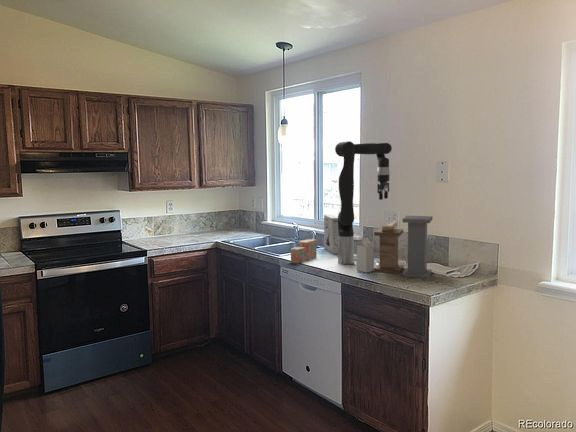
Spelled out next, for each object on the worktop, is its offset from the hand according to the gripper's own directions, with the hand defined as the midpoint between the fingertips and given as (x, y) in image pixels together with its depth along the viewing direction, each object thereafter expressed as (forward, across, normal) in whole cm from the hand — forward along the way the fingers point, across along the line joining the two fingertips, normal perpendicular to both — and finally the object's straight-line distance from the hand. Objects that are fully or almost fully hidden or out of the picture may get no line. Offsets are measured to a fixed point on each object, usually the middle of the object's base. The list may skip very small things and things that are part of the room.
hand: (383, 199), depth 302 cm
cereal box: (+38, +1, +38) cm, 54 cm away
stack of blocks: (+38, -34, +41) cm, 66 cm away
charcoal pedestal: (+38, -35, -34) cm, 62 cm away
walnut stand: (+38, -32, -16) cm, 53 cm away
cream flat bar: (+15, -25, -15) cm, 33 cm away
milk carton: (+38, -41, -6) cm, 57 cm away
